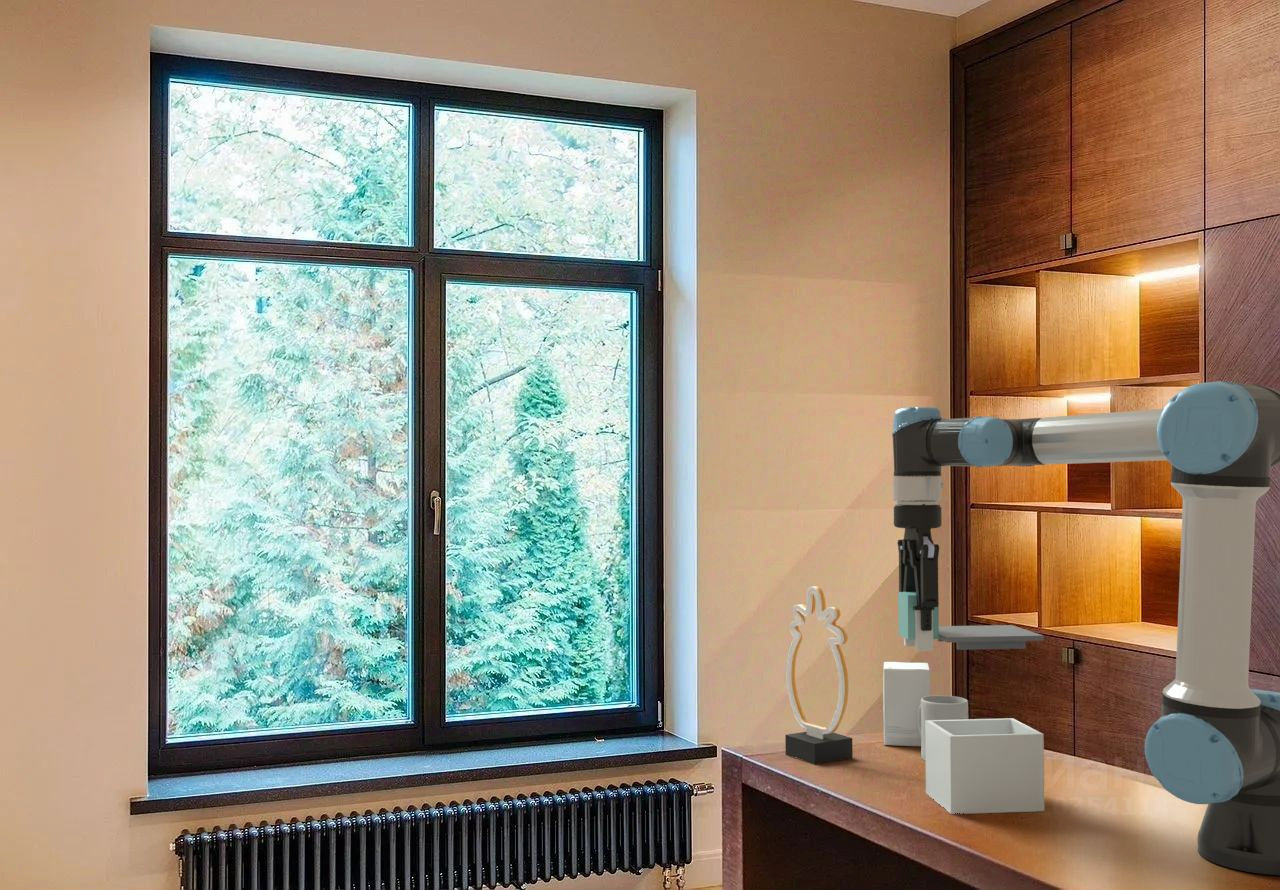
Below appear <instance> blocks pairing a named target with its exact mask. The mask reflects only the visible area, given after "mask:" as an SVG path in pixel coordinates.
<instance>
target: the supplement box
mask: <svg viewBox="0 0 1280 890" xmlns="http://www.w3.org/2000/svg"><path fill="white" fill-rule="evenodd" d="M882 677H883V680H882V681H883V683H882V684H883V685H882V686H883V691H882V692H883V700H882V701H883V705H882V706H883V744H884V746H896V747H897V746H899V747H903V746H904V747H920V748H921V735H920V732H919V729H918V709H919V706H920V705H921V699H922V698H923V697H926V696H931V670H930V666H929V663H928V662H902V661H884V662H883V676H882Z"/></svg>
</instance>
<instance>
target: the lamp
mask: <svg viewBox="0 0 1280 890" xmlns="http://www.w3.org/2000/svg"><path fill="white" fill-rule="evenodd" d="M805 598H806V600H805V601H806V603H805V604H806V605H805V604H802V603H800V604H795V605H793V607H792V615H793V618H794V620H793V621H791V622H790V623H789V625H788V628H789V629H788V630H789V632H790V634H791V636H792V640H791V643H790V646H789V649H788V652H787V657H786V666H785V681H786V690H787V696H788V699H789V704H790V706H791V710H792V713H793V715H794V718H795V719H796V721H797V724H798V725H799V726H800V727H801V728H803V729H805V730H806V731H802V732H795V733H787V734H785V756H788V755H789V757H791V756H793V757H792V758H794V757H797V758H800V759H803V760H805V761H804V762H806V761H807V762H806V763H809V762H810V764H812V763H814V764H813V765H818V764H817V763H820V764H826V762H827V763H831V762H837V761H839V762H840V761H844V760H845V761H846V760H850V759H851V760H852V759H853V758H854V757H853V751H854V750H853V737H850V736H847V735H844V734H840V733H837V732H836V731H837V730H838V728H839V727H840V725H841V723H842V721H843V718H844V717H845V712H846V709H847V705H848V700H849V675H848V669H847V664H846V660H845V657H844V654H843V651H842V649H841V646H840V645H845V644H846V643H848V638H849V637H848V633H846V630H845V629H844V628H843V627H841V626H840V625H837V624H836V622H837V621H838V620H839V619H840V617H841V610H840V609H839V607H837V606H826V598H825V594H824V592H823V589H822V588H821V587H820V586H818V585H815V586H814V585H813V586H809V587H808V588H807V591H806V597H805ZM815 611H816V619H817V621H818V622H821V621H823V620H824V619H825V621H824V622H823V626H822V627H823V628H825V629H827V630H828V631H830V632H832V633H833V634H834V635H835V636H836V637H828V638H827V643H828V646H829V647H830V650H831V653H832V656H833V658H834V661H835V665H836V670H837V677H838V696H837V697H838V699H837V703H836V708H835V712H834V715H833V717H832V720H831V721H830V723H829V724H828V726H827V727H825V726H823V725H822V726H821V725H819V724H816V723H811V722H809V721H808V720H807V719H806V716H805V714H804V712H803V709H802V706H801V704H800V698H799V696H798V691H797V682H796V662H797V656H798V652H799V648H800V646H801V643H802V640H803V635H802V632H801V630H800V628H799V627H800V626H801V627H802V626H803V625H804V624H805V623H806V617H809V616H811V615H813V614H814V613H815ZM797 758H796V759H797ZM800 759H799V760H800ZM803 760H802V761H803Z"/></svg>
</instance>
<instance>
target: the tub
mask: <svg viewBox="0 0 1280 890" xmlns="http://www.w3.org/2000/svg"><path fill="white" fill-rule="evenodd" d="M1044 742H1045V741H1044V733H1042V732H1040V731H1039V730H1038V729H1035V728H1032V727H1031V726H1029V725H1027V724H1025V723H1023V722H1021V721H1019V720H1017V719H1015V718H1013V717H1012V718H1011V717H1010V718H1007V717H1006V718H974V719H973V718H968V719H963V720H925V747H926V761H925V794H926V795H927V794H928V795H929V796H928V795H927V796H928V797H929V798H931V799H932V800H933V799H934V800H933V801H934V802H936V803H937V804H938V805H939V804H940V805H939V806H940V807H942V808H943V807H944V808H945V809H946V811H947V812H948V813H949V814H951V815H962V814H963V813H964V814H965V815H966V814H993V813H994V814H995V813H996V814H997V813H999V814H1000V813H1024V812H1025V813H1027V812H1028V813H1031V812H1045V759H1044V756H1045V753H1044V748H1045V745H1044ZM944 808H943V809H944ZM945 809H944V810H945ZM955 813H956V814H955ZM957 813H958V814H957ZM959 813H960V814H959ZM964 814H963V815H964Z"/></svg>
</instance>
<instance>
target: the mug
mask: <svg viewBox="0 0 1280 890" xmlns="http://www.w3.org/2000/svg"><path fill="white" fill-rule="evenodd" d="M963 719H969V700H968V699H966V698H964V697H962V696H961V697H960V696H956V695H955V696H953V695H945V694H944V695H940V694H939V695H930V696H926V697H923V698H922V699H921V705H920V706H919V709H918V729H919V732H920V735H921V747H920V749H921V751H920V755H921V759H922V760H923V761H924V762H926V747H925V720H963Z"/></svg>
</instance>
